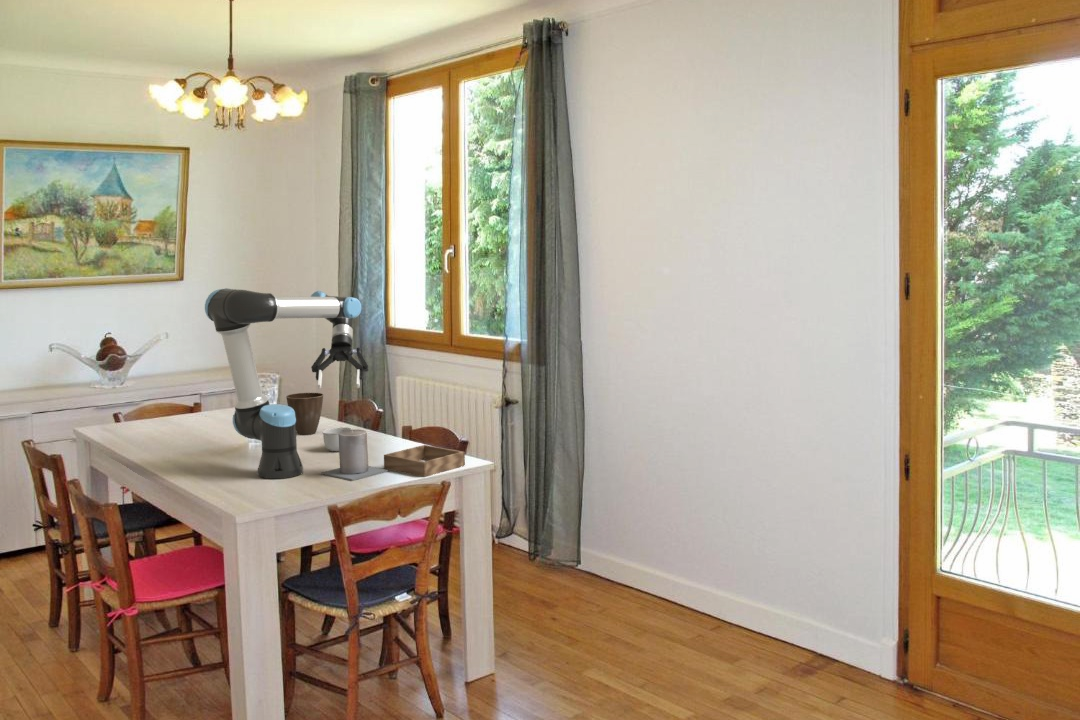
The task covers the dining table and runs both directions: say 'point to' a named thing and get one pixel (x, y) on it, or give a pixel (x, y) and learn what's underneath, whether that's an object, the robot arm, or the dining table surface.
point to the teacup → (333, 438)
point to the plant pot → (306, 411)
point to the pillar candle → (353, 451)
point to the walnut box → (410, 461)
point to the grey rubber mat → (353, 477)
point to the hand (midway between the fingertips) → (338, 386)
